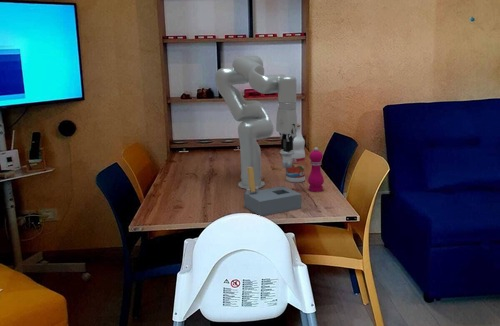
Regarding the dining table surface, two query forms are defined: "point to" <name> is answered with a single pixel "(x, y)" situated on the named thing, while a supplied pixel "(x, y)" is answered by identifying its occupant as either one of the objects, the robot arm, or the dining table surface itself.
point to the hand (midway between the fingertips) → (286, 149)
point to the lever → (251, 179)
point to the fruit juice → (297, 159)
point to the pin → (286, 155)
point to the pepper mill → (316, 171)
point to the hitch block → (272, 200)
